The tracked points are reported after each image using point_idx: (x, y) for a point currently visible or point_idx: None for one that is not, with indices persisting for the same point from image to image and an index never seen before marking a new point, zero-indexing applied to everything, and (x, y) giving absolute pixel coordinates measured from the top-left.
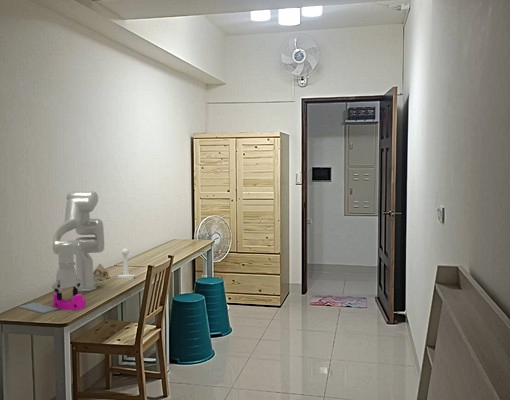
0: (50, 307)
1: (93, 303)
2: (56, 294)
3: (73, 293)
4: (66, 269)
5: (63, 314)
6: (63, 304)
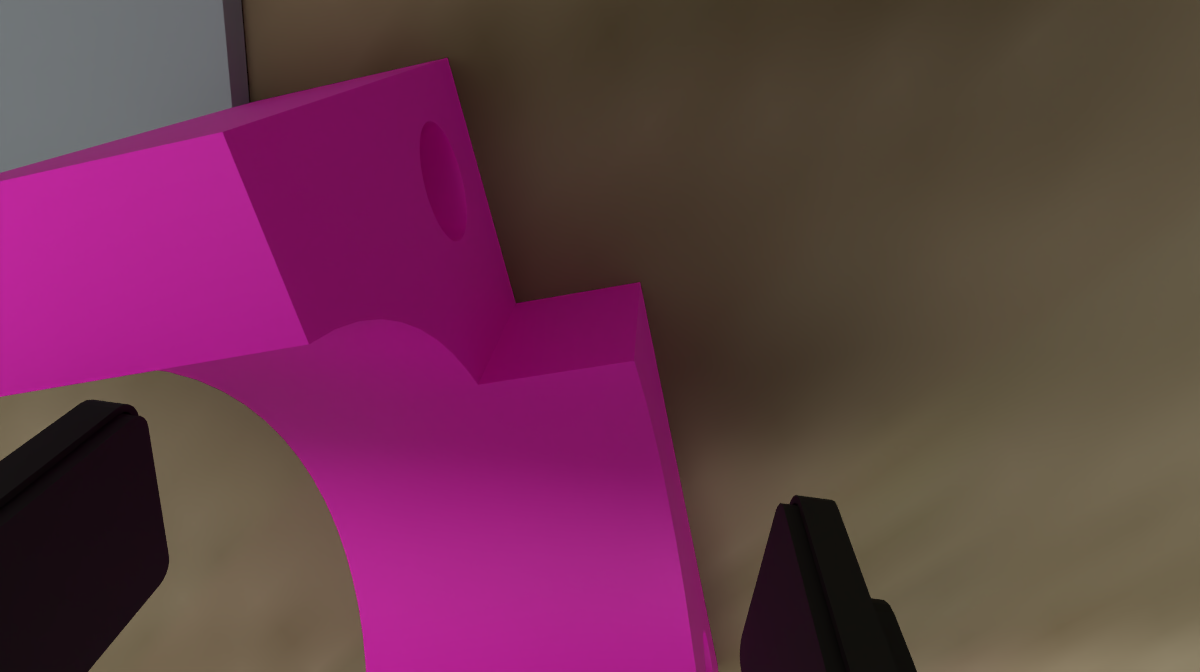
0: (152, 39)
1: (1034, 635)
2: (11, 343)
3: (788, 602)
4: None
5: (132, 642)
6: (313, 457)
